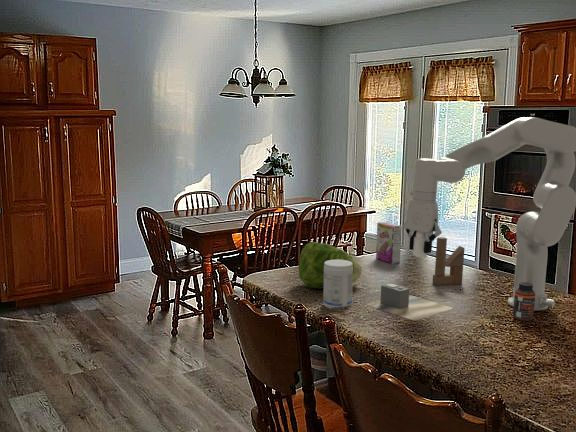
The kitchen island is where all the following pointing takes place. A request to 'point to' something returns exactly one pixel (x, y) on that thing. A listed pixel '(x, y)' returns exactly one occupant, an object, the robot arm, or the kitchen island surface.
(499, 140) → the robot arm
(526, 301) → the supplement bottle
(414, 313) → the plywood panel
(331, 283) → the supplement tub
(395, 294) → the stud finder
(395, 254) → the candy bar box
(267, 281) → the kitchen island surface
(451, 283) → the wooden letter
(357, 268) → the lettuce
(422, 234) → the pepper shaker
